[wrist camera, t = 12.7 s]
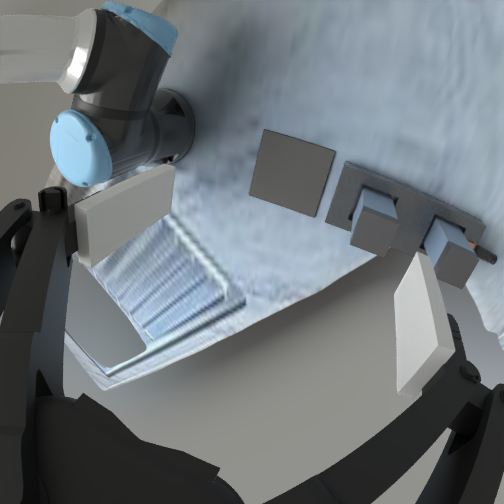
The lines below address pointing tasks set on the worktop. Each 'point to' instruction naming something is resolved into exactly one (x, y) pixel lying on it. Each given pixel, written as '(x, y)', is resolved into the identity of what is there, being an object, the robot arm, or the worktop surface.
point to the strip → (402, 211)
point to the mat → (290, 172)
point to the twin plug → (449, 252)
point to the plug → (374, 222)
